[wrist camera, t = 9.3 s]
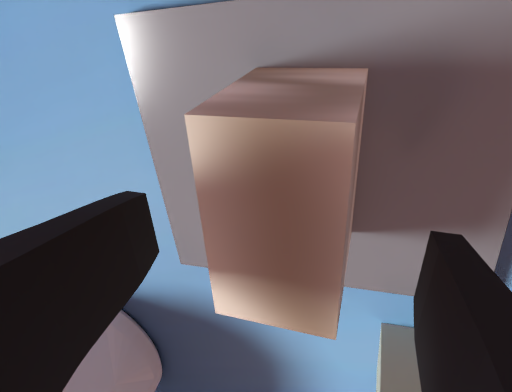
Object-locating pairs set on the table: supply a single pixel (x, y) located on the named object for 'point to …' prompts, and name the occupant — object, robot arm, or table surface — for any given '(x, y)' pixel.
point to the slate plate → (374, 119)
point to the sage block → (397, 360)
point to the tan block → (279, 192)
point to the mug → (119, 361)
